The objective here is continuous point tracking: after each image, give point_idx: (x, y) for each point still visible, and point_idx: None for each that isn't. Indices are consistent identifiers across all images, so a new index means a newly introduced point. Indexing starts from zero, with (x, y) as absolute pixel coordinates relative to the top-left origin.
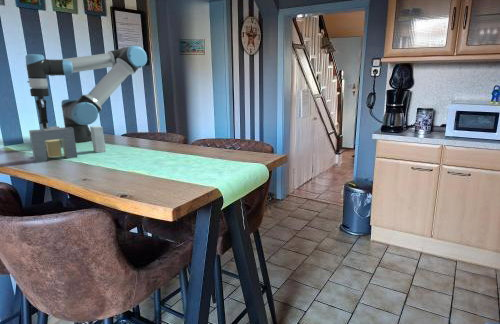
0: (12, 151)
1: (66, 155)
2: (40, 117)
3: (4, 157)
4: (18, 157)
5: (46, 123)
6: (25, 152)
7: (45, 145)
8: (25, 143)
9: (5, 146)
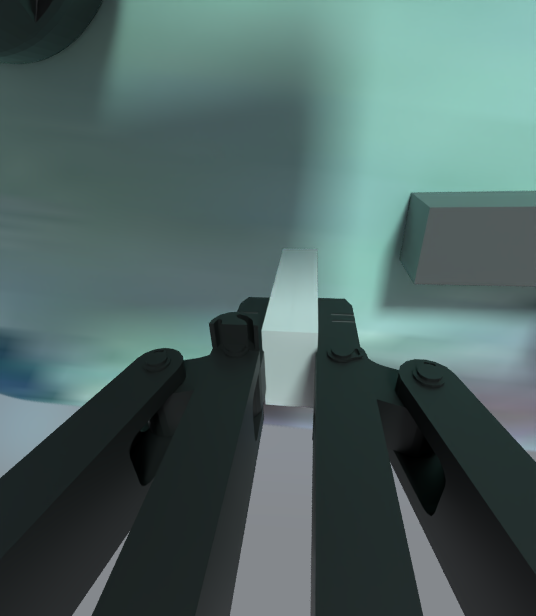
0: None
1: None
2: (249, 492)
3: None
4: None
5: (316, 344)
6: None
7: (460, 282)
8: (11, 324)
9: (80, 403)
